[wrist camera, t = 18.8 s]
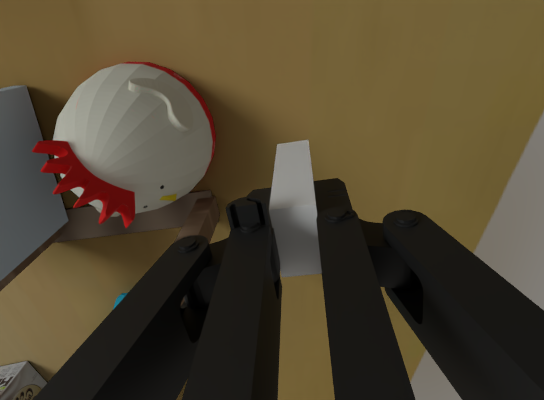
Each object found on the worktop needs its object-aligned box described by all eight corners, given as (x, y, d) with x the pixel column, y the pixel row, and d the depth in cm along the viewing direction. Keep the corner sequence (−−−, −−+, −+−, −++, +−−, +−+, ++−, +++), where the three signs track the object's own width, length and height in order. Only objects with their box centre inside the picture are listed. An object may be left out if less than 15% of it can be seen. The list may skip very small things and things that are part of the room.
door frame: (213, 189, 39) (168, 285, 25) (221, 221, 41) (184, 328, 26) (31, 213, 42) (-106, 313, 27) (45, 242, 43) (-76, 351, 29)
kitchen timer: (164, 217, 41) (103, 311, 28) (57, 137, 37) (-74, 200, 24) (243, 130, 36) (215, 193, 23) (128, 27, 32) (13, 31, 19)
